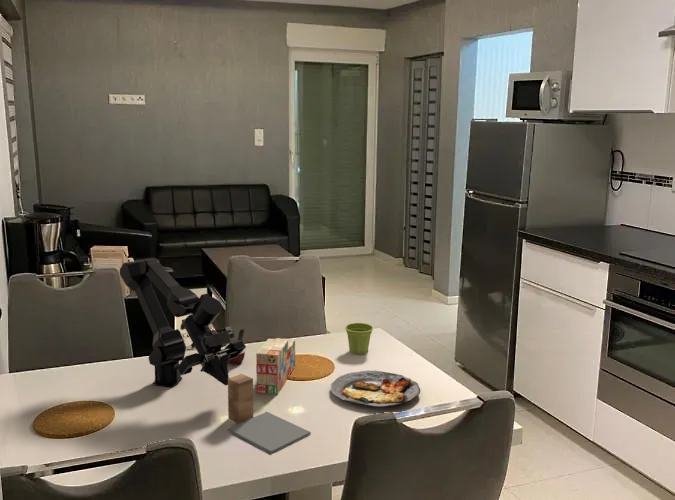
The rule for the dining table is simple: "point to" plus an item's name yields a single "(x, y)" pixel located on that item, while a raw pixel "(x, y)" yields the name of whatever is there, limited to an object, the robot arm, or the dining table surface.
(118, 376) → the dining table surface
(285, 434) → the mat
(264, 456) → the dining table surface
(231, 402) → the walnut block
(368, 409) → the dining table surface
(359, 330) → the plant pot
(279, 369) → the stack of blocks
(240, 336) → the cocoa
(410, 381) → the food plate
